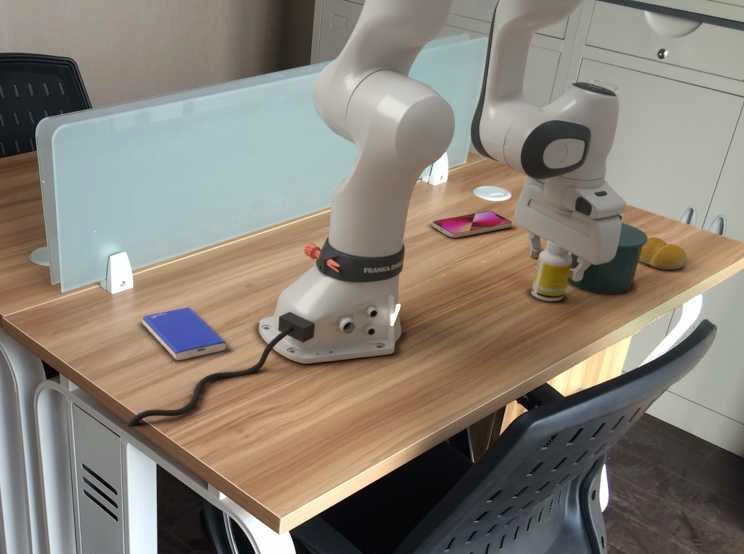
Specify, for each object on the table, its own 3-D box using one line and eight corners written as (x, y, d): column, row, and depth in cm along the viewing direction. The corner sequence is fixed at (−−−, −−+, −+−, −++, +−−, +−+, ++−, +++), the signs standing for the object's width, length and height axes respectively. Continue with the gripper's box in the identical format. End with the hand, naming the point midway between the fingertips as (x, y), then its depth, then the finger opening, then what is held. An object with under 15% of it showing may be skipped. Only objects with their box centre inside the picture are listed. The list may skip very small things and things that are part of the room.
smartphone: (430, 221, 186) (490, 210, 192) (429, 226, 187) (489, 214, 192) (453, 234, 181) (514, 222, 186) (452, 239, 181) (513, 227, 187)
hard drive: (142, 316, 146) (175, 351, 137) (190, 306, 149) (226, 340, 140) (142, 325, 147) (176, 361, 138) (190, 315, 150) (226, 350, 141)
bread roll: (670, 275, 171) (676, 254, 169) (625, 258, 177) (631, 238, 174) (692, 264, 176) (699, 243, 173) (648, 248, 181) (654, 228, 179)
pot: (598, 298, 162) (610, 251, 157) (553, 273, 170) (563, 228, 165) (644, 287, 166) (657, 242, 161) (598, 263, 174) (609, 219, 169)
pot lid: (609, 256, 157) (616, 233, 154) (558, 231, 165) (563, 208, 163) (661, 246, 162) (667, 223, 159) (608, 221, 170) (614, 199, 168)
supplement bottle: (569, 300, 160) (583, 246, 155) (542, 304, 159) (555, 249, 153) (551, 287, 165) (563, 233, 159) (524, 290, 163) (536, 236, 158)
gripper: (513, 171, 158) (499, 249, 166) (604, 213, 143) (584, 296, 151) (542, 166, 160) (526, 243, 168) (634, 206, 146) (613, 288, 153)
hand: (554, 268), depth 159 cm, fingers open, 8 cm apart
